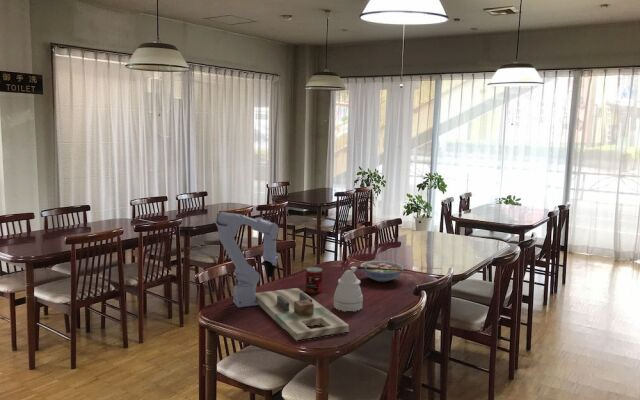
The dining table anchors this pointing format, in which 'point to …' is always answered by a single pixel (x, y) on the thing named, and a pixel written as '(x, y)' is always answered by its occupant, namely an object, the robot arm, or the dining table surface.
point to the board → (283, 313)
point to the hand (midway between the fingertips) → (269, 276)
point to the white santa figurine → (348, 292)
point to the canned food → (314, 280)
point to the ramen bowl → (381, 270)
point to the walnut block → (303, 307)
